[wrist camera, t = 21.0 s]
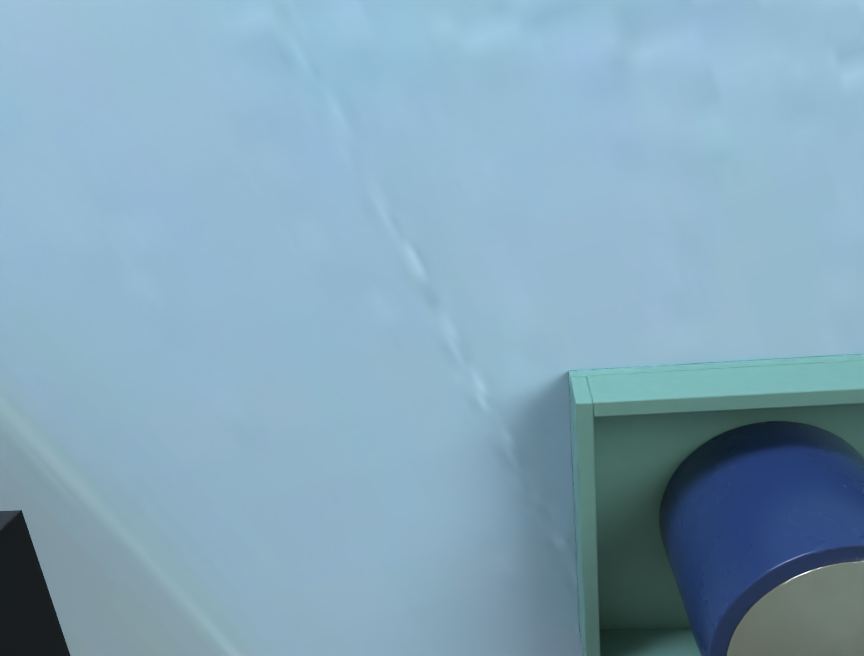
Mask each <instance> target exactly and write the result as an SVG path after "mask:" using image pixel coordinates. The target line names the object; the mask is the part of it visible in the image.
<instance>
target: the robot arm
mask: <svg viewBox="0 0 864 656" xmlns="http://www.w3.org/2000/svg"><path fill="white" fill-rule="evenodd" d="M0 656H70V653H69V650H68V648H67V645H66V642H65V639H64V636H63V633H62V630H61V627H60V624H59V621H58V618H57V615H56V612H55V609H54V606H53V603H52V600H51V597H50V594H49V591H48V588H47V585H46V582H45V579H44V576H43V573H42V570H41V567H40V564H39V561H38V558H37V555H36V552H35V549H34V546H33V543H32V540H31V537H30V534H29V531H28V528H27V525H26V522H25V519H24V516H23V513H22V510H20V511H0Z"/></svg>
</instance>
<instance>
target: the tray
mask: <svg viewBox="0 0 864 656" xmlns="http://www.w3.org/2000/svg"><path fill="white" fill-rule="evenodd" d="M569 391H570V415H571V438H572V462H573V486H574V509H575V533H576V557H577V580H578V604H579V628H580V637H581V644H582V652H583V656H700V653H699V650H698V647H697V644H696V641H695V638H694V635H693V632H692V629H691V626H690V623H689V620H688V617H687V614H686V611H685V608H684V605H683V602H682V599H681V596H680V593H679V590H678V587H677V584H676V581H675V578H674V575H673V572H672V569H671V566H670V563H669V560H668V557H667V554H666V551H665V548H664V545H663V542H662V537H661V533H660V526H659V513H660V505H661V501H662V497H663V494H664V492H665V489H666V487H667V484H668V482H669V481H670V479H671V477H672V475H673V474H674V472H675V471H676V470H677V468H678V467H679V466H680V464H681V463H682V462H683V461H684V460H685V459H686V458H687V457H688V456H689V455H690V454H691V453H692V452H694V451H695V450H696V449H697V448H699V447H700V446H701V445H703V444H704V443H706V442H707V441H709V440H711V439H712V438H714V437H716V436H718V435H720V434H722V433H724V432H726V431H729V430H732V429H735V428H738V427H741V426H744V425H749V424H753V423H759V422H768V421H789V422H798V423H804V424H808V425H812V426H816V427H819V428H822V429H824V430H827V431H830V432H831V433H833V434H835V435H837V436H839V437H841V438H842V439H844V440H845V441H846V442H848V443H849V444H850V445H852V446H853V447H854V448H855V449H856V450H857V451H858V452H859V453H860V454H861V455H862V456H863V457H864V354H853V355H835V356H818V357H801V358H783V359H766V360H749V361H731V362H714V363H697V364H679V365H662V366H644V367H627V368H610V369H592V370H575V371H569Z"/></svg>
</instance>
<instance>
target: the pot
mask: <svg viewBox="0 0 864 656" xmlns="http://www.w3.org/2000/svg"><path fill="white" fill-rule="evenodd" d="M659 526H660V533H661V537H662V542H663V545H664V548H665V551H666V554H667V557H668V560H669V563H670V566H671V569H672V572H673V575H674V578H675V581H676V584H677V587H678V590H679V593H680V596H681V599H682V602H683V605H684V608H685V611H686V614H687V617H688V620H689V623H690V626H691V629H692V632H693V635H694V638H695V641H696V644H697V647H698V650H699V653H700V656H864V457H863V456H862V455H861V454H860V453H859V452H858V451H857V450H856V449H855V448H854V447H853V446H852V445H850V444H849V443H848V442H846V441H845V440H844V439H842V438H841V437H839V436H837V435H835V434H833V433H831V432H830V431H827V430H824V429H822V428H819V427H816V426H812V425H808V424H804V423H798V422H789V421H768V422H759V423H753V424H749V425H744V426H741V427H738V428H735V429H732V430H729V431H726V432H724V433H722V434H720V435H718V436H716V437H714V438H712V439H711V440H709V441H707V442H706V443H704V444H703V445H701V446H700V447H699V448H697V449H696V450H695V451H694V452H692V453H691V454H690V455H689V456H688V457H687V458H686V459H685V460H684V461H683V462H682V463H681V464H680V466H679V467H678V468H677V470H676V471H675V472H674V474H673V475H672V477H671V479H670V481H669V482H668V484H667V487H666V489H665V492H664V494H663V497H662V501H661V505H660V513H659Z"/></svg>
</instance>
